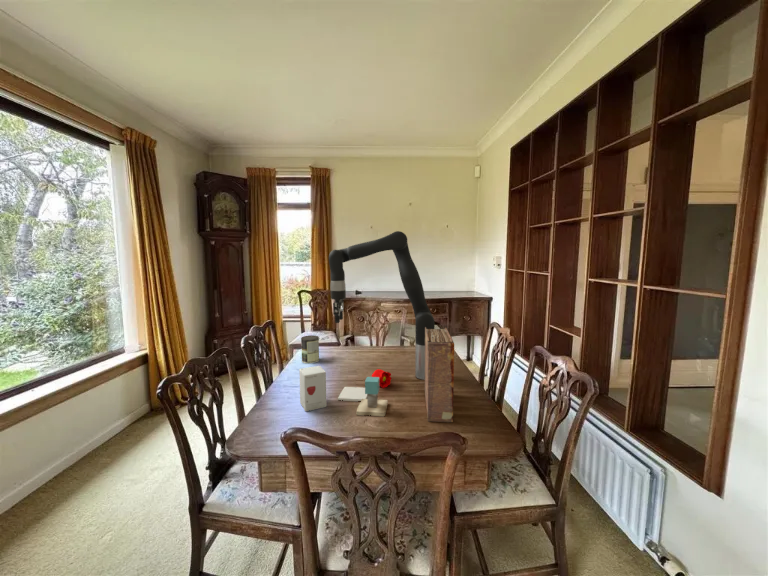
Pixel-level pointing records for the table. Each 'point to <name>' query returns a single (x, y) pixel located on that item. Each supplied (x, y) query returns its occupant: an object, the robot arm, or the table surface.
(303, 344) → the coffee can
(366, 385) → the teal cube block
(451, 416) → the book
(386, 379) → the flower
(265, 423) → the table surface
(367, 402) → the post stand
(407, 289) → the robot arm
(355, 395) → the pad
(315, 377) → the supplement box
